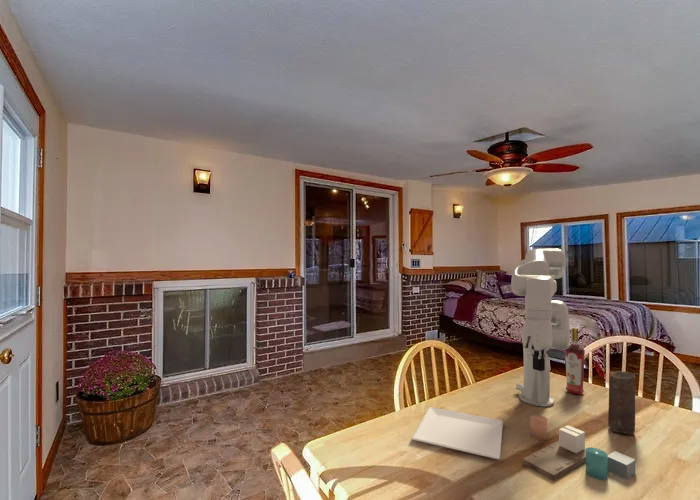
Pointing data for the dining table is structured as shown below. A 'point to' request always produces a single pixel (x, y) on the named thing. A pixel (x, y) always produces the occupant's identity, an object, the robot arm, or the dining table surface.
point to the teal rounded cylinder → (596, 463)
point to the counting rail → (554, 461)
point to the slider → (572, 439)
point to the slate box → (621, 465)
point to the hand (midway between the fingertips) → (538, 369)
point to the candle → (622, 402)
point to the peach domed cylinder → (538, 427)
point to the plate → (461, 432)
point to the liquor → (574, 365)
